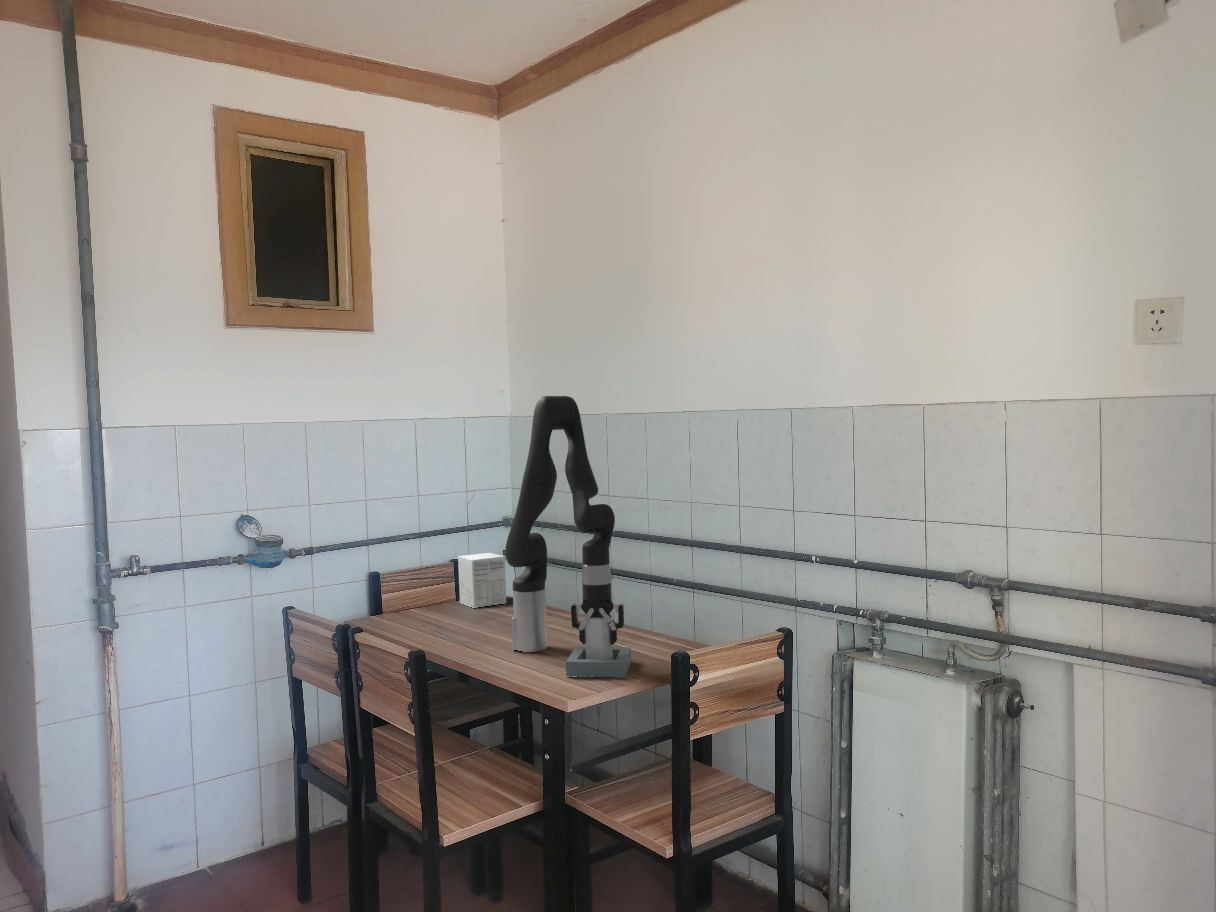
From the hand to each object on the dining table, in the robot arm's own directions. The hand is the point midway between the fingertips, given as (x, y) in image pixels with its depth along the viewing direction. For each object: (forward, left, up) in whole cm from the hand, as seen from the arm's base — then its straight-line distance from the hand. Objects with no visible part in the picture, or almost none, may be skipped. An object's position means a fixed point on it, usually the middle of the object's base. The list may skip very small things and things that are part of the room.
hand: (598, 643), depth 237 cm
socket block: (0, 0, -7) cm, 7 cm away
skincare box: (0, 0, -5) cm, 5 cm away
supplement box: (-55, +85, -7) cm, 101 cm away
